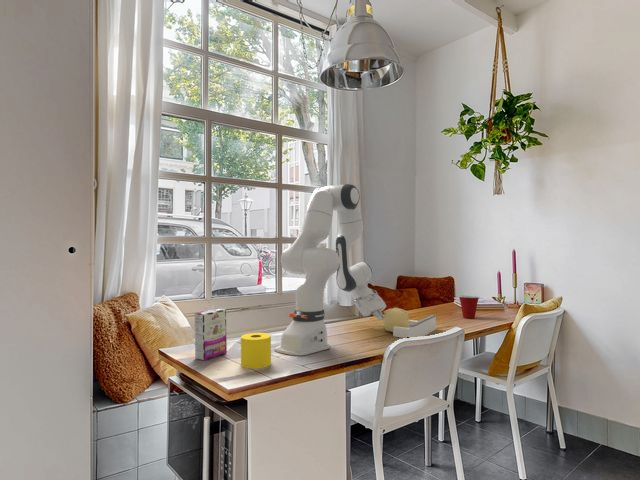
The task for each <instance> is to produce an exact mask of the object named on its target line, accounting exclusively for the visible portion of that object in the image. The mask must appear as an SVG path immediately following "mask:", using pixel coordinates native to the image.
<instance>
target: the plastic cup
mask: <svg viewBox="0 0 640 480" xmlns="http://www.w3.org/2000/svg"><path fill="white" fill-rule="evenodd" d="M458 298H459V302H460V307H461V313H462V317H463V319H467V320H468V319H469V320H474V319H475V318H476V314H477V313H476V312H477V307H478V304H479V303H478V302H479V299H480V296H476V295H458Z"/></svg>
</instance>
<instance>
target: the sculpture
mask: <svg viewBox="0 0 640 480" xmlns="http://www.w3.org/2000/svg"><path fill="white" fill-rule="evenodd" d="M408 314H409V311H408V310H405V309H403V308H399V307H393V308H388V309H386V310H385V309H384V310H383V315H384V317H383V320H382V324H383V327H384V329H385V331H387V332H391V333H393V327H395V326H396V327H405V328H408V324H409V320H410V319H409V315H408Z"/></svg>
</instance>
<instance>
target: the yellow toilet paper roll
mask: <svg viewBox="0 0 640 480" xmlns="http://www.w3.org/2000/svg"><path fill="white" fill-rule="evenodd" d="M271 338H272V335H271V334H269V333H265V332H251V333H245V334H242V335H241V336H240V366H241V367H243V368H245V369H252V370H253V369H255V370H256V369H264V368H267V367H270V366H271V364H272V339H271Z"/></svg>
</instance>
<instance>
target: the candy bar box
mask: <svg viewBox="0 0 640 480" xmlns="http://www.w3.org/2000/svg"><path fill="white" fill-rule="evenodd" d="M194 343H195V344H194V345H195V346H194V347H195V349H194V350H195V351H194V352H195V353H194V354H195V359H196V360H199V361H200V360H201V361H208V360H211V359H214V358H216V357H219V356H222V355H225V354H227V353H228V352H227V350H228V348H227V347H228V346H227V343H228V342H227V309H225V308H215V309H214V308H213V309H209V310H204V311H199V312H195V313H194Z"/></svg>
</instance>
